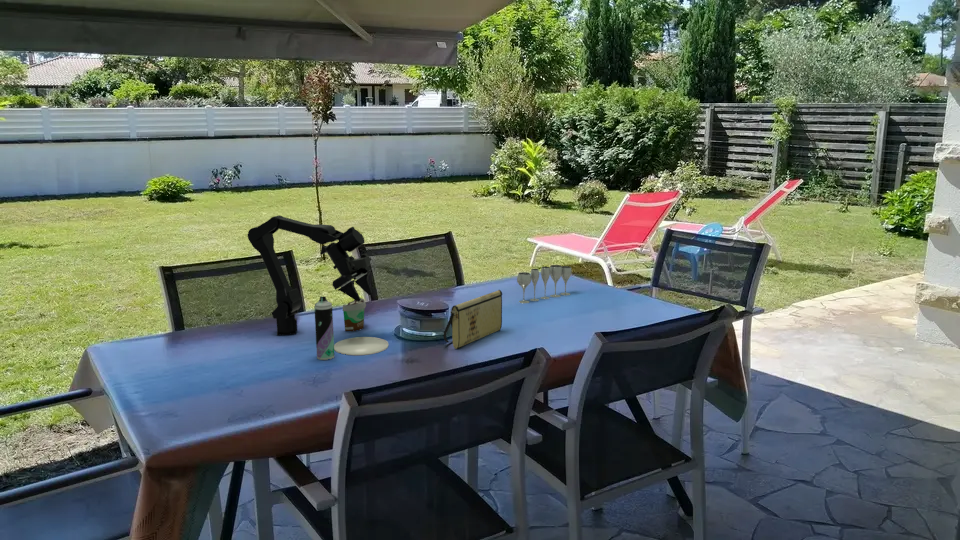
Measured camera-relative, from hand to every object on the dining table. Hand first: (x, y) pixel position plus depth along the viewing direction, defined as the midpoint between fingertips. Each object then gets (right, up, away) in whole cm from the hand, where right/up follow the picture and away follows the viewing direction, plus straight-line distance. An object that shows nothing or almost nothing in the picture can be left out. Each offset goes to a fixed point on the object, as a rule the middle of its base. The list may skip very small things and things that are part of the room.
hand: (365, 297), depth 248 cm
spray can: (-10, -19, -15) cm, 26 cm away
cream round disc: (-1, -16, -5) cm, 17 cm away
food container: (-5, -12, +17) cm, 21 cm away
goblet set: (+66, -3, +59) cm, 89 cm away
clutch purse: (+36, -15, +4) cm, 39 cm away
